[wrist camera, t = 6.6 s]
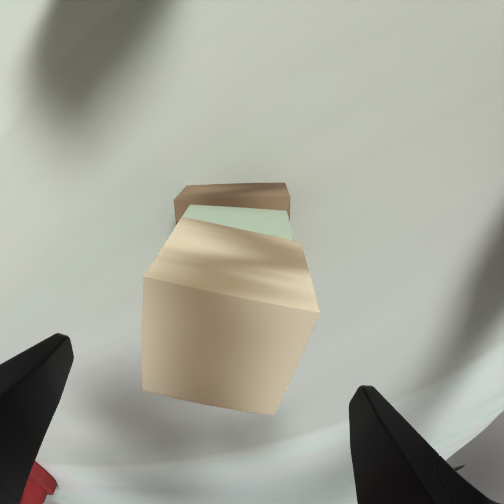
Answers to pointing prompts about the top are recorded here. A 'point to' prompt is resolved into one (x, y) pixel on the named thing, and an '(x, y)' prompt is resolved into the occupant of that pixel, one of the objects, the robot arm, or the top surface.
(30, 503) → the stand mixer
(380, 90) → the top surface
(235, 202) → the walnut base block
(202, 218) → the sage block
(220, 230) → the maple cube
